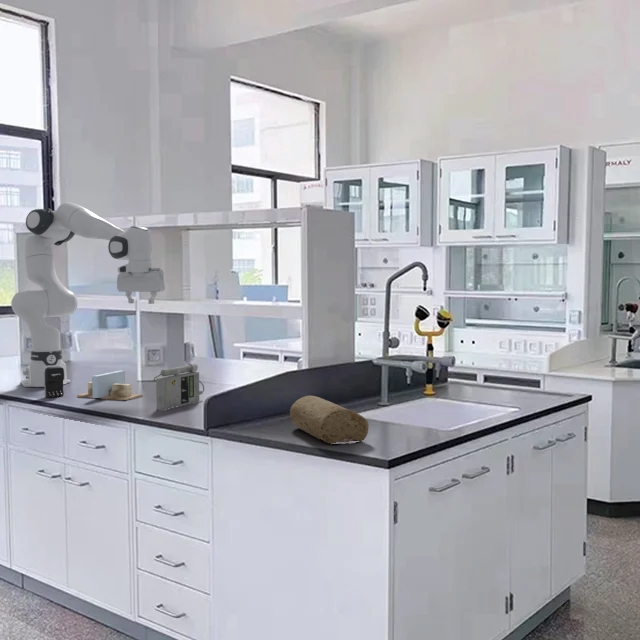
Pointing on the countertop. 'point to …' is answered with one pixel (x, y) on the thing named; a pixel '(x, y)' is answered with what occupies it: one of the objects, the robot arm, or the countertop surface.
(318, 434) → the core sample
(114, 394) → the joint jig
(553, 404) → the countertop surface
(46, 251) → the robot arm
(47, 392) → the battery
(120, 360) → the countertop surface
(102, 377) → the blue plate
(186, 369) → the geiger counter
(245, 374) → the countertop surface
